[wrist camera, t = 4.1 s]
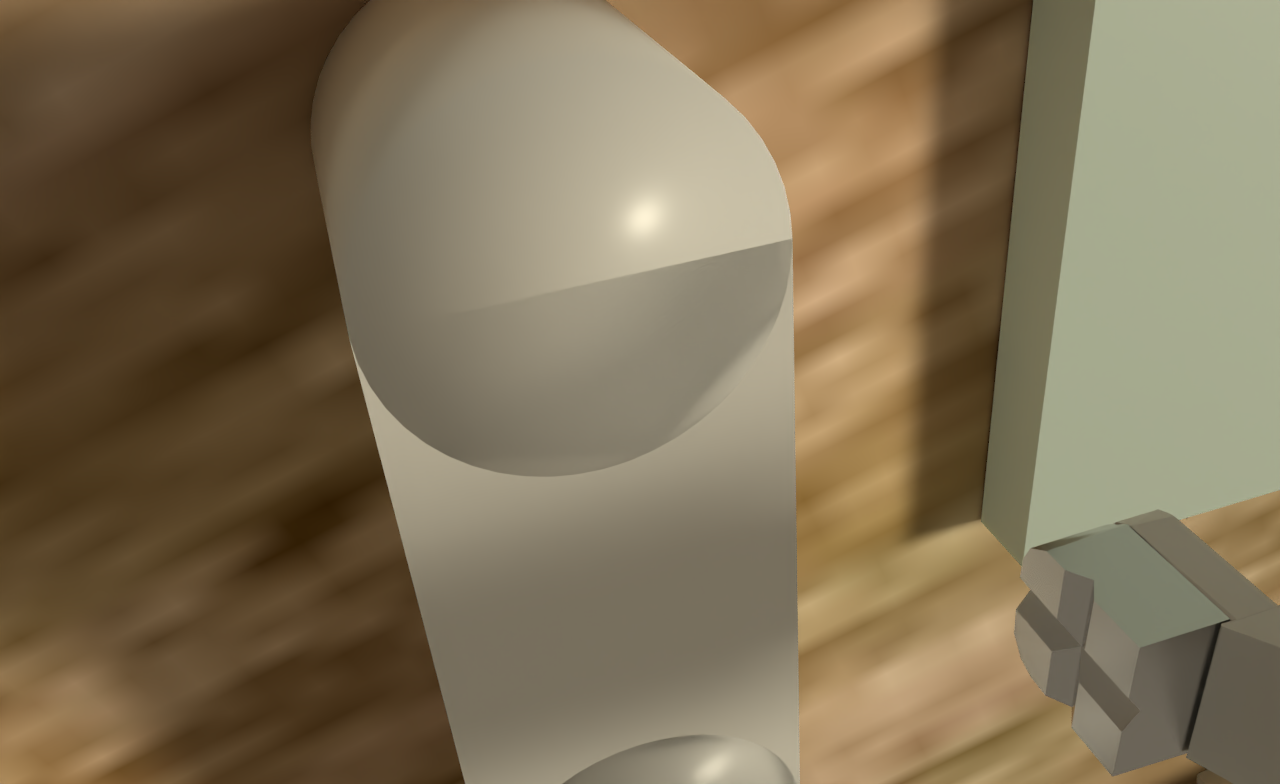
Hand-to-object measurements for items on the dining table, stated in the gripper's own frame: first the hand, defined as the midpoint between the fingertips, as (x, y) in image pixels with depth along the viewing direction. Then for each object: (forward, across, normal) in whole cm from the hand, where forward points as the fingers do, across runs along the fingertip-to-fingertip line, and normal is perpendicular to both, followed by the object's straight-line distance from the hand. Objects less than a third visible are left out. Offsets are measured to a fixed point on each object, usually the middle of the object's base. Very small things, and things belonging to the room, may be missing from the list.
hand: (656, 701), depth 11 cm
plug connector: (+5, 0, +1) cm, 5 cm away
